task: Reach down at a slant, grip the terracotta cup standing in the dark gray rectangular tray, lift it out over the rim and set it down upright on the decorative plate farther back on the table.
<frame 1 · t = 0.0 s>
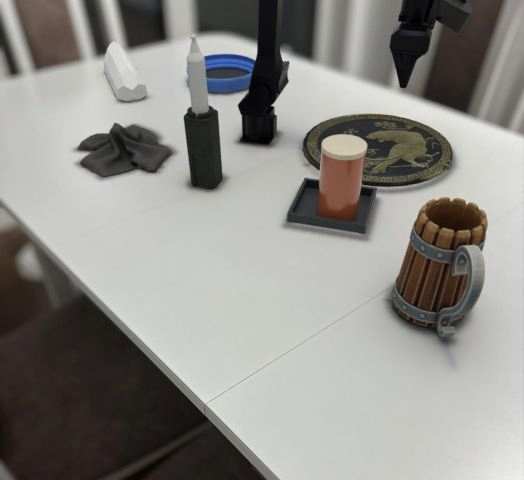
hand: (406, 78, 96), 15 cm above the table, tool pointing down, fingers open, 9 cm apart
crystal: (125, 85, 133), on the table
decorative plate: (375, 153, 107), on the table
cup: (337, 211, 91), point 1 cm above the table, touching dark gray rectangular tray
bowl: (223, 81, 135), on the table
mug: (432, 317, 74), on the table
dark gray rectangular tray: (332, 212, 93), on the table
candle: (207, 182, 100), on the table
cloth: (124, 151, 109), on the table
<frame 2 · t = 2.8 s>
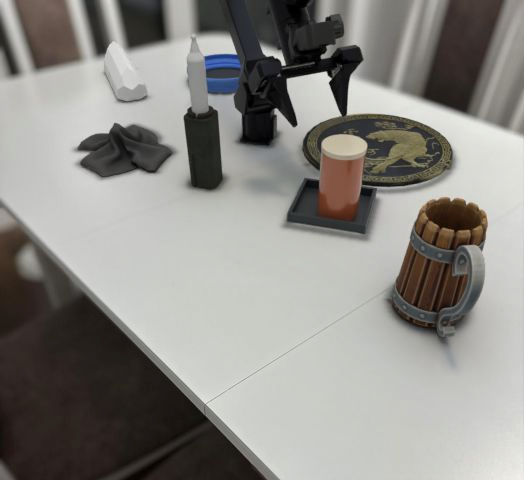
hand: (320, 121, 87), 13 cm above the table, tool tilted 45°, fingers open, 9 cm apart
nothing on the table moved.
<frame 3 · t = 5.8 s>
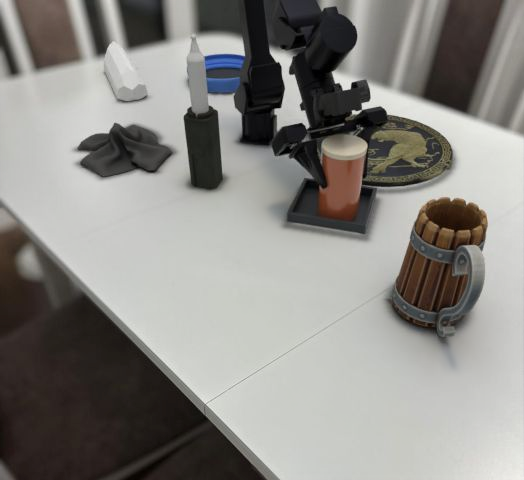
hand: (344, 183, 86), 7 cm above the table, tool tilted 45°, fingers closed on cup, 7 cm apart
cup: (337, 211, 91), point 1 cm above the table, touching gripper, dark gray rectangular tray
everything else where it was.
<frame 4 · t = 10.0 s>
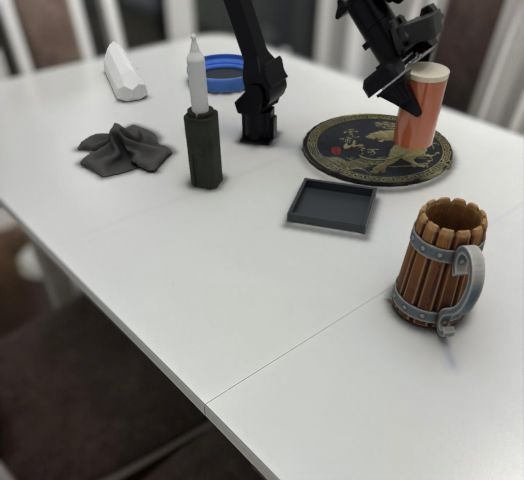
hand: (427, 107, 90), 13 cm above the table, tool tilted 45°, fingers closed on cup, 7 cm apart
cup: (412, 140, 95), point 7 cm above the table, touching gripper
everything else where it was.
when the fingers open (8 cm above the table, at t = 14.2 s): cup stays where it is, resting on decorative plate.
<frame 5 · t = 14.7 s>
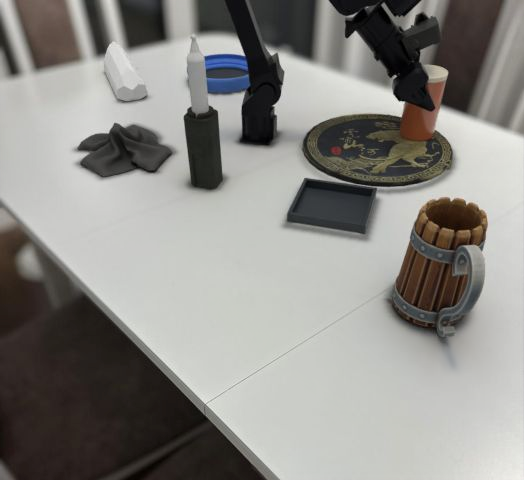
hand: (430, 100, 104), 9 cm above the table, tool tilted 45°, fingers open, 9 cm apart
decorative plate: (375, 153, 107), on the table, touching cup
cup: (416, 133, 109), point 2 cm above the table, touching decorative plate
everything else where it was.
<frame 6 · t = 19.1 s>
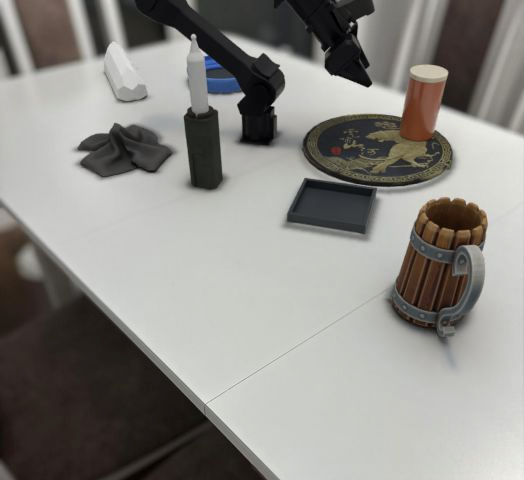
hand: (369, 76, 100), 14 cm above the table, tool tilted 45°, fingers open, 9 cm apart
nothing on the table moved.
at the end: cup inside the target area on the decorative plate (8.5 cm from its centre), point 2.0 cm above the decorative plate's base; cup tilted 0°; cup touching decorative plate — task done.
